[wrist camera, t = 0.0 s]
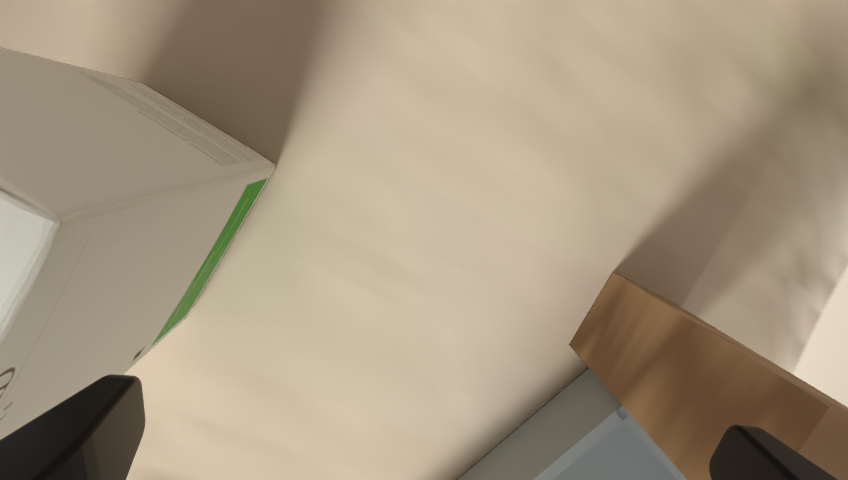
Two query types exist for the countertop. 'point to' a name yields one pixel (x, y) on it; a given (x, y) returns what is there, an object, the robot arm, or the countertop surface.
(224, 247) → the skincare box
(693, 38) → the countertop surface
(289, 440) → the countertop surface
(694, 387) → the brown block
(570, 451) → the tray
